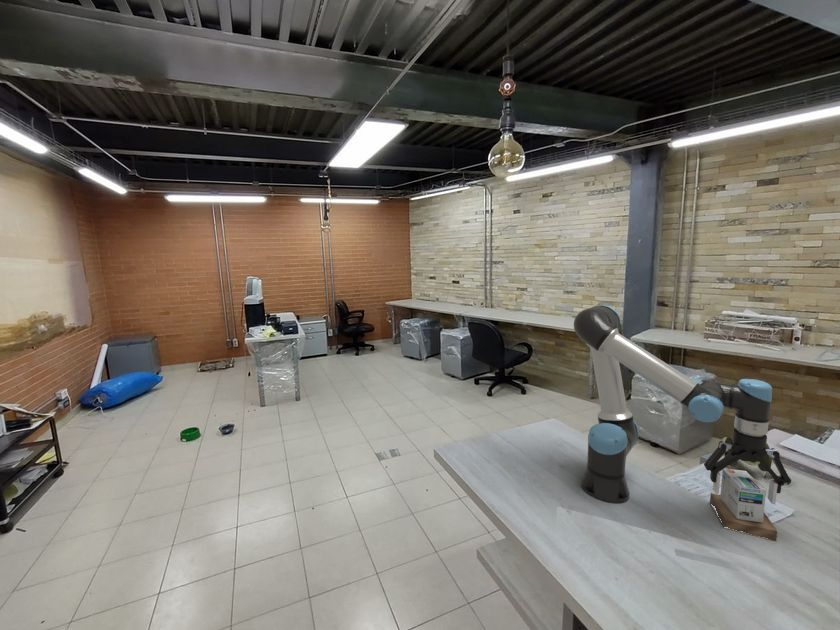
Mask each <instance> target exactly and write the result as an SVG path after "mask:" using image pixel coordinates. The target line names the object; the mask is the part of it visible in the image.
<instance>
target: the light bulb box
mask: <svg viewBox="0 0 840 630" xmlns="http://www.w3.org/2000/svg"><path fill="white" fill-rule="evenodd" d="M720 486H721V487H720V493H719V495H720V499H721V500H722V501H723V502H724V504H725V505H726V506H727V507H728V509H729V510H730V511H731V512H732V513H733V515H734V516H735V517H736V518H737V519H740V520H747V521H754V522H760V523H763V517H764V513H765V505H766V495H767V489H766V488H765V487H764V486H763V485H761V484H760V482H758V481H757V480H756V479H755V478H754V477H753V476H752V475H751V474H750V473H749V472H748V471H747V470H740V469H732V468H727V467H726V468H724V469H723V470H722V473H721V485H720Z"/></svg>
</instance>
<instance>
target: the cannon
mask: <svg viewBox="0 0 840 630" xmlns="http://www.w3.org/2000/svg"><path fill="white" fill-rule="evenodd" d="M721 441H723V442H724V443H726V444H731V443H732V442H733V436H726V437H723V438H722V439H721ZM766 449H769V450H770V449H771V448H770V446H769V444H768V443H767V442H766ZM731 451H732V449H728V451H725V453H724V457H726V456H727V455H728V454H729V453H730V452H731ZM735 456H736V455H735ZM762 459H763V460H764V461H765V462H766V464H767V465H768V466H769V467H770V468H771V467H772V462H773V460H772V458H771V457H770V456H769V455H768V454H767V455H765V456H764V457H763V458H762ZM738 462H739V460H738V461H736V462H733V463H732V464H730V465H729V466H730V467H732V468H733V467H734V468H735V467H736V466H737V465H738ZM743 462H744V463H746V464H747V465H749V466H752V467H754V466H755V467H756V466H757V467H758V469H759V470H760V471H762V472H766V473H767V472H768V471H767V470H766V469H765V468H764V467H763V466H762V465H761V464H760V462H759V461H757V462H755V463H753V462H749V461H743ZM729 466H728V467H729ZM771 469H772V468H771Z"/></svg>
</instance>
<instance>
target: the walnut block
mask: <svg viewBox="0 0 840 630" xmlns="http://www.w3.org/2000/svg"><path fill="white" fill-rule="evenodd" d="M709 498H710V499H709V504H710V503H711V504H712V505H713V506H715V508H716V511H717V513H718V516H719V518H720V519H721V521H722V523H723V525H724V527H728V528H730V529H734V530H737V531H743V532H746V533H749V534H752V535H751V536H753V535H756V536H755V537H757V536H760V537H759V538H761V537H765V538H768V539H767V540H769V539H771V540H770V541H774V542H776V541H777V537H778V530H777V528H776V527H775V525H774V524H773V523H772V521H771V520H770V518H769V517H768V516H767V514H766V512H764V517H763V523H760V522H754V521H747V520H740V519H737V518H736V517H735V516H734V515H733V513H732V512H731V511H730V510H729V509H728V507H727V506H726V505H725V504H724V502H723V501H722V500H721V499H720V494H716V493H712V492H711V493H710V497H709ZM711 504H710V505H711ZM719 518H718V519H719ZM723 525H722V526H723ZM724 527H723V528H724ZM737 531H736V532H737ZM749 534H748V535H749ZM765 538H764V539H765Z"/></svg>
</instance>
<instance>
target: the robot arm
mask: <svg viewBox="0 0 840 630" xmlns="http://www.w3.org/2000/svg"><path fill="white" fill-rule="evenodd" d="M620 326H621V316H620V314H619V313H618V311H617V310H616V309H615V308H613V307H611V306H608V305H599V304H598V305H594V306H592V307H589V308H584V309H583V310H581V311H579V312H578V313H577V315H576V316H575V318H574V320H573V329H574V331H575V332H574V333H575V334H576V335H577V337H579V339H580V340H582V341H583V342H584V343H585V345H586V346H588V348H590V351H591V357H592V358H591V359H592V363H593V370H594V376H595V381H596V387H597V393H598V399H599V400H598V401H599V405H600V407H599V408H600V411H599V412H598V413H597V420H598V423H596V424H594V425H592V426H591V427H590V429H589V431H588V435H587V437H588V438H587V444H588V445H587V464H586V465H587V466H586V470H585V472H584V474H583V476H582V478H581V482H580V487H581V489H582V490H583V491H584V493H586V494H587V495H588V496H590V497H592V498H593V499H596V500H598V501H601V502H604V503H608V504H614V505H615V504H616V505H617V504H618V505H619V504H621V505H622V504H625V503H628V501H629V500H630V490H629V486H628V484H627V480H626V476H625V475H626V463H627V462H626V461H627V457H628V455H629V453H630V452H631V450H632V449H633V448H634V446H635V445H636V444H637V442H638V440H639V438H640V437H639V436H640V430H639V426H638V424H637V422H636V421H635V420H634V417H633V412H631V411H630V410H628V409H627V407H628V406H627V402H626V396H625V390H624V383H623V378H622V372H621V366H620V364H622V365H624V366H625V367H626V368H628V369H629V370H631V371H632V372H634V373H635V374H637V375H638V376H640V377H641V378H642V379H644V380H646V381H647V382H649V383H650V384H651V385H653V386H655V388H657V389H659V390H661V391H662V392H664V393H665V394H667V395H668V396H670V397H671V398H672V399H674V400H676V401H677V402H678V403H680V404H682V405H683V406H684V407H685V408H687V409H688V411H689V413H690V415H691V416H692V417H693V418H694V419H695V420H697V421H699V422H703V423H713V422H716V421H718V420H719V419H720V418H721V416H722V415H723V413H724V411H725V409H728V410H735V415H734V416H735V417H734V421H733V426H734V428H733V433H732V437H733V442H732V443H731V444H726V443H724V442H723V441H722V440H721V441H719V442H718V446H717V448H716V449H715V450H714V451H713V452H712V454H711V455H710V456H709V457H708V458H707V460H706V461H705V462H704V463H703V466H704V467H705V469H706V470H707V471H710V474H709V475H710V476H709V479H710V481H711V482H712V483H713V484H712V490H713V491H714V494H718V495H720V486H721V485H720V483H721V477H722V474H721V473H720V472H721V471H723V469H724V468H726V469H727V467H729V465H730V464H732V463H733V462H736V461H738V462H739V461H741V462H744V461H749V462H753V463H755V462H757V461H759V462H760V464H761V465H762V466H763V467H764V468H765V469H766V470H767V472H768V474H769V475H770V476H771V478H770V479H769V485H768V494H767V500H769V502H770V503H771V505H776V501H777V494H781V491H782V487H783V486H784V485H785V484H786V483H787V484H791V483H792V480H791V478H790V476H789V475H788V473H787V470H786V469H785V467H784V465H783V462H782V461H781V459H780V458H781V455H780V452H779V451H778V450H777V449H775V448H774V447H771V448H770V450H769V449H766V443H767V441H768V436H767V434H768V430H769V424H770V415H771V408H772V399H773V398H772V397H773V387H772V386H771V384H770V383H768V382H766V381H763V380H759V379H755V378H754V379H753V378H742V379H740V380H739V381H738V383H737V384H732V383H726V382H721V381H720V382H719V381H715V380H714V381H713V380H707V379H705V378H702V379H700V378H690V377H689V376H687V375H686V374H684V373H682V372H680V371H679V370H678V369H676V368H674V367H673V366H671V365H670V364H668V363H666V362H665V361H663V360H662V359H660V358H658V357H657V356H656V355H654V354H652V353H651V352H649V351H648V350H646V349H644V348H642V346H639V344H636V343H635V342H633V341H632V340H630V339H629V338H627V337H625V336H624V335H622V334H620V330H619V329H620ZM728 449H732V451H731V452H730V453H729V454H728V455H727V456H726V457H725V451H728ZM767 454H768V455H769V456H770V457H771V458H772V462H773V463H774V465H775V467H776V468H777V469H776V470H777V471H778V473H779V475H780V476H778V475H777V474H776V473H775V472H774V470H773V469H772V468H770V467H769V466H768V465H767V464H766V462H765V461H764V460H763V459H762V458H763V457H764V456H765V455H767ZM735 455H736V456H735ZM723 456H724V457H723ZM722 457H723V458H722ZM772 478H773V479H772Z"/></svg>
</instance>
